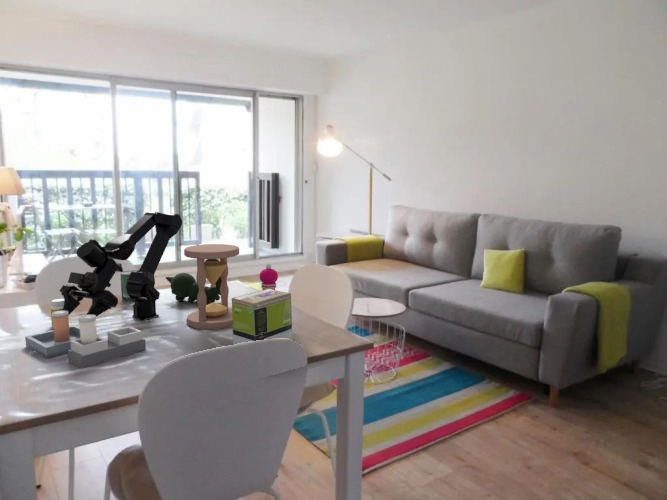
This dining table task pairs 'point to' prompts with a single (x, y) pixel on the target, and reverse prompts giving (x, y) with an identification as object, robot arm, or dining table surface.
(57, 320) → the marked fuse
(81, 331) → the cylinder
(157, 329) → the dining table surface
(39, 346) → the parts tray
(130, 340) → the block
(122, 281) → the green container
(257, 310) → the tea box
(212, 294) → the toy figurine
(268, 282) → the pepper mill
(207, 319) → the hourglass
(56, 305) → the supplement bottle
